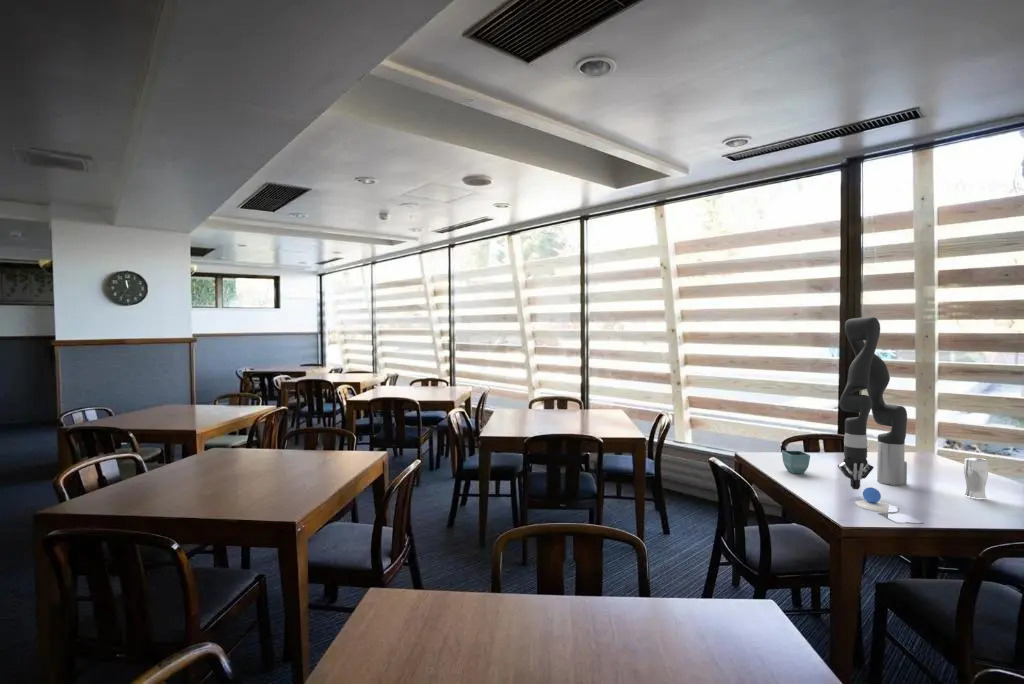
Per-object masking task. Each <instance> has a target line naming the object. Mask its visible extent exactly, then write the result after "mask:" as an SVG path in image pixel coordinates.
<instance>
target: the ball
mask: <svg viewBox="0 0 1024 684" xmlns="http://www.w3.org/2000/svg"><path fill="white" fill-rule="evenodd" d="M881 495H882V494H881V492H880V491H879V490H878V489H877V488H875V487H865V488H864V489H863V491H862V497H863V499H864V500H866V501H868V502H870V503H876V502H880V500H881V499H882V496H881Z"/></svg>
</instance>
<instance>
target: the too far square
mask: <svg viewBox="0 0 1024 684" xmlns="http://www.w3.org/2000/svg"><path fill="white" fill-rule="evenodd" d="M877 514H878V515H879V514H880V515H879V516H881V515H882V517H883V516H884V518H885V517H886V519H887V518H888V513H883V512H878V513H877Z"/></svg>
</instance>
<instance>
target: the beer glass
mask: <svg viewBox="0 0 1024 684" xmlns="http://www.w3.org/2000/svg"><path fill="white" fill-rule="evenodd" d="M963 464H964V465H963V475H964V479H965V484H966V489H965V494H964V496H965V495H967V496H970V497H975V498H986V499H987V496H986V486H987V481H988V477H989V463H988V460H987V459H986V458H981V457H973V456H971V457H970V456H966V457H964V463H963Z"/></svg>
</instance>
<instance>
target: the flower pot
mask: <svg viewBox="0 0 1024 684" xmlns="http://www.w3.org/2000/svg"><path fill="white" fill-rule="evenodd" d="M781 455H782V457H781V458H782V462H783V465H784V467H785V469H786V470H787V472H790V473H791V472H792V474H804V473H805V472H807V470H808V468H809V466H810V459H811V455H810V454H808V453H807V452H804V451H802V450H781Z"/></svg>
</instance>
